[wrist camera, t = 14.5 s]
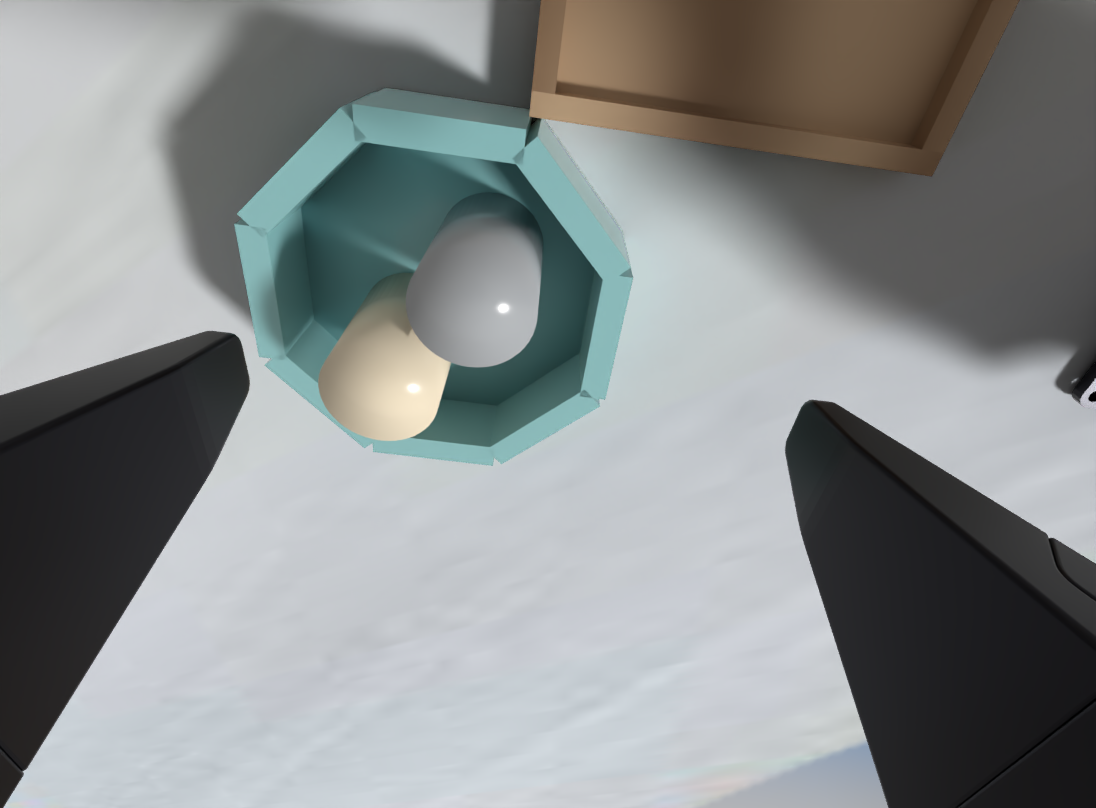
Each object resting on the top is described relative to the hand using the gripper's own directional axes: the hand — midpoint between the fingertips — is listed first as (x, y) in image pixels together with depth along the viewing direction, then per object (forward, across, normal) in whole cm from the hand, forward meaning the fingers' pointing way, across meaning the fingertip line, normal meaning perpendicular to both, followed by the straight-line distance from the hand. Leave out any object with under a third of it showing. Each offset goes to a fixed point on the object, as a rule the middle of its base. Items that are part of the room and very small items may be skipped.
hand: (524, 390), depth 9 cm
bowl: (+10, +3, +3) cm, 11 cm away
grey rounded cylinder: (+10, +2, +1) cm, 10 cm away
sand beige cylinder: (+9, +4, +4) cm, 11 cm away
